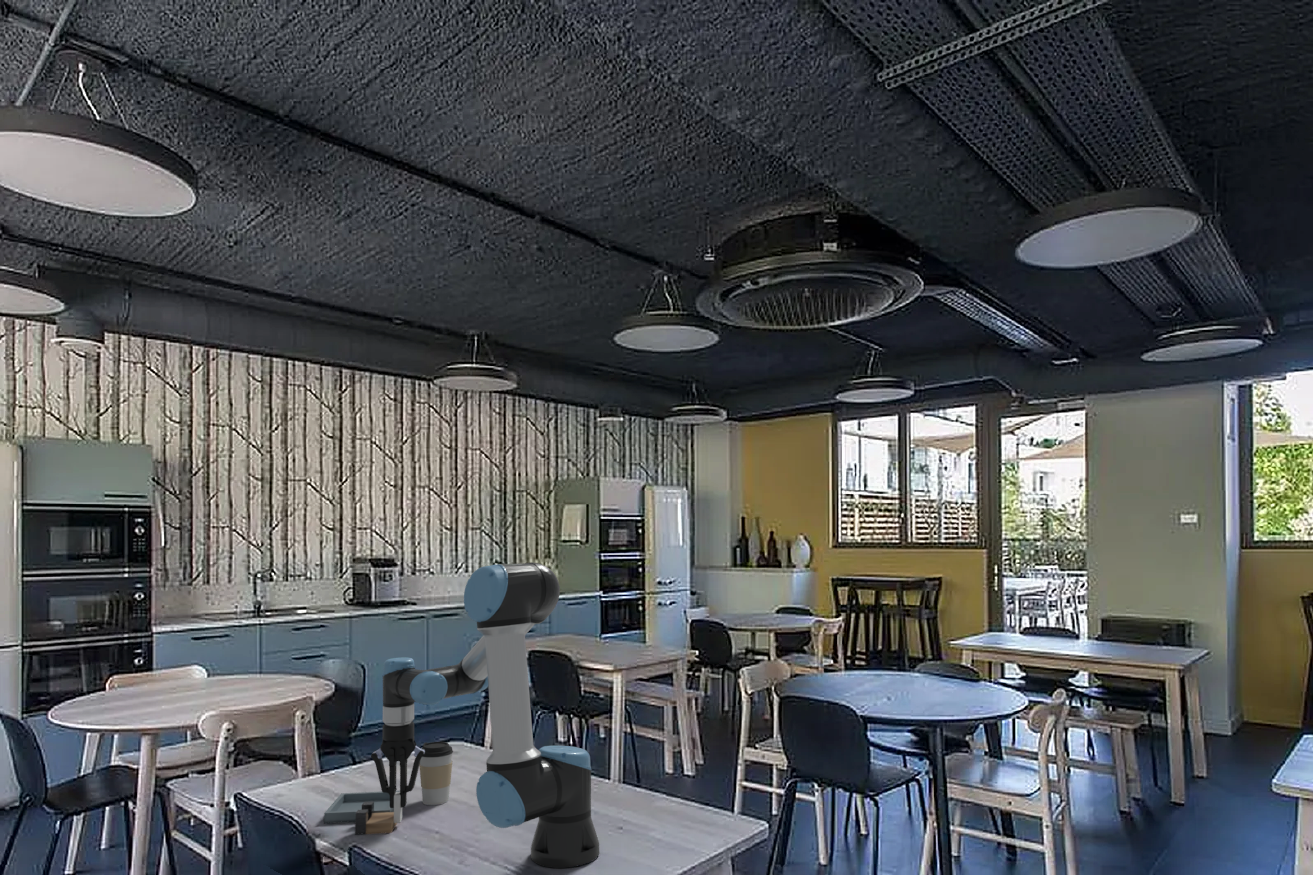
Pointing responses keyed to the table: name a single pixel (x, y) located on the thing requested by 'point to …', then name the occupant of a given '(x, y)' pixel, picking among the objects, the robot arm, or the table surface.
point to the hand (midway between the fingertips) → (397, 821)
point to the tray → (356, 806)
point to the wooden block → (381, 823)
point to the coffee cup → (436, 772)
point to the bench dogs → (363, 817)
